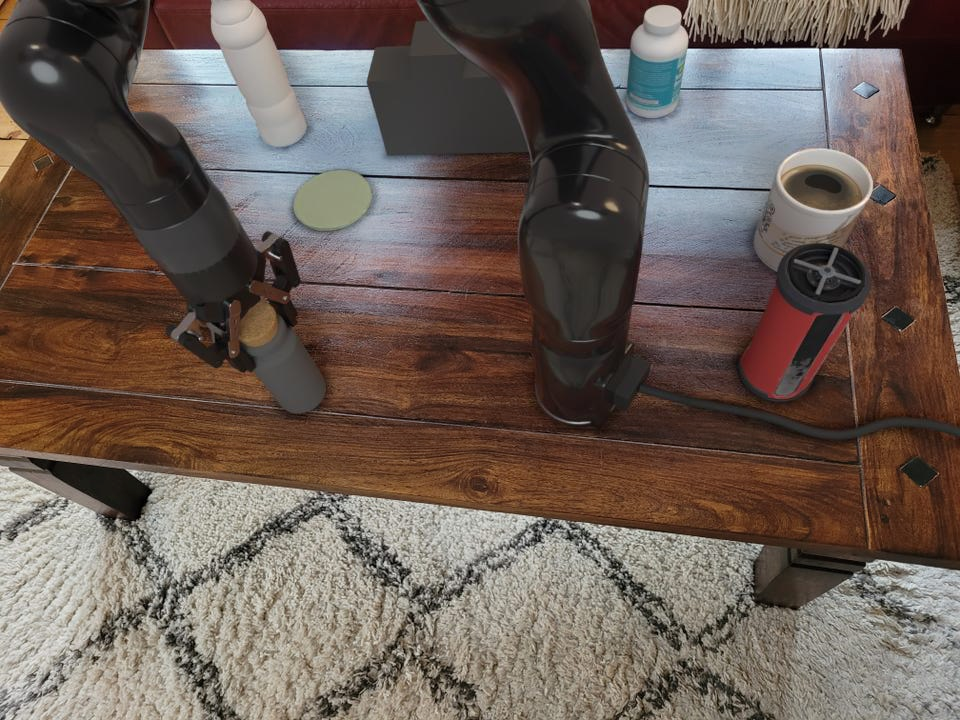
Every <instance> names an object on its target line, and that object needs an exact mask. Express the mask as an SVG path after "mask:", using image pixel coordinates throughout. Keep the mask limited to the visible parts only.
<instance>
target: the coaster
mask: <svg viewBox="0 0 960 720" xmlns="http://www.w3.org/2000/svg"><path fill="white" fill-rule="evenodd" d="M372 200H373V191H372V188H371V185H370V184H369V182H368V180H367V179H366V178H365V177H364V176H363V175H362V174H359V173H357V172H354V171H351V170H348V169H347V170H346V169H334V170H329V171H325V172H322V173H319V174H317V175H315V176H313V177H311V178H310V179H309V180H307V181H305V183H304V184H302V186H301V187H299V189H298V190H297V192H296V194H295V196H294V198H293V205H292V207H293V212H294V214H295V217H296V218H297V220H298V221H299V223H301V224H302V225H303V226H304V227H306V228H308V229H311V230H314V231H319V232H332V231H337V230H341V229H344V228H347V227H349V226H351V225H353V224H354V223H356V222H357V221H358V220H360V219H361V218H362V217H363V216H364V215H365V214H366V212H367V211H368V210H369V208H370V206H371V203H372Z"/></svg>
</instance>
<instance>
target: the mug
mask: <svg viewBox="0 0 960 720" xmlns="http://www.w3.org/2000/svg"><path fill="white" fill-rule="evenodd" d="M873 191H874V181H873V177H872V175H871V172H870V171H869V169H868V168H867V167H866V165H864V164H863V163H862V162H861V161H860V160H859V159H857V158H855V157H854V156H852V155H850V154H849V153H845V152H843V151H841V150H836V149H833V148H832V149H831V148H826V147H824V148H823V147H802V148H801V149H800V150H798V151H795V152H793V153H791V154H790V155H788V156H787V157H786V158H784V160H783V161H781V163H780V164H779V166H778V168H777V170H776V173H775V175H774V179H773V182H772V184H771V187H770V190H769V193H768V194H767V198H766V201H765V203H764V207H763V210H762V212H761V214H760V218H759V221H758V223H757V226H756V228H755V232H754V235H753V239H752V240H753V248H754V251H755V254H756V256H757V258H759V260H760V261H761V263H763V264H764V265H765V266H767V267H768V268H769V269H771V270H772V271H774V272H776V273H777V270H778V266H779V263H780V261H781V259H782V258H783V257H784V255H785V254H786V253H787V252H789V251H790V250H792V249H793V248H795V247H798V246H800V245H804V244H810V243H825V244H832V245H836V246H839V247H842V248H844V247H845V245H846V243H847V241H848V240H849V238H850V236H851V234H852V232H853V230H854V228H855V226H856V225H857V223H858V221H859V219H860V217H861V215H862V213H863V211H864V209H865V208H866V206H867V204H868V202H869V201H870V199H871V197H872V194H873Z"/></svg>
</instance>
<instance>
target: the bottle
mask: <svg viewBox="0 0 960 720" xmlns="http://www.w3.org/2000/svg"><path fill="white" fill-rule="evenodd" d="M240 322H241V333H242V335H241V336H239V347H240V349H242V350H243V351H244V352H245V354H246V355H247V356H248V358H249V359H250V360H251V361H252V363H253V364H254V365H255V367H256V368H255V369H254V370H253V371H252V372H253V374H255V375H256V377H257V378H258V379H259V381H260V382H261V383H262V384H263V386H264V387H265V388H266V390H267V391H268V393H270V395H271V396H272V397H273V399H274V400H275V401H276V402H277V403H278V405H279V406H280V408H282V409H283V410H285V411H286V412H288V413H291V414H295V415H296V414H305V413H308V412H311V411H313V410H314V409H315V408H317V407H318V406H320V404H321V403H322V401H323V400H324V399H325V396H326V393H327V382H326V380H325V378H324V376H323V373H322V372H321V371H320V369H319V367H318V366H317V364H316V363H315V361H314V359H313V358H312V356H311V355H310V353H309V351H308V350H307V348H306V346H305V345H304V343H303V342H302V340H301V338H300V337H299V335H298V334H297V332H296V331H295V330H294V327H291V326H289V325H288V324H286V323H285V322H284V320H283V318H282V317H281V316H280V315H279V314H278V313H276V312H275V310H274V308H273V307H272V306H271V305H270V303H269V302H266V301H263V300H260V301H259V302H258V303H257V304H256V305H254V306H253V307H252V308H250V309H249V310H248V312H247V313H246V315H245V316H244V317H243V318H242V319H241V320H240Z"/></svg>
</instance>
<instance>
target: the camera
mask: <svg viewBox="0 0 960 720" xmlns="http://www.w3.org/2000/svg"><path fill="white" fill-rule="evenodd" d="M371 58H372V59H371V62H370V66H369V70H368V74H367V77H366V81H365V82H366V85H367V89H368V92H369V93H368V94H369V96H370V99H371V103H372V107H373V111H374V113H375V118H376V121H377V124H378V128H379V131H380V135H381V139H382V142H383V146H384V149H385V152H386V156H388V157H389V156H421V155H424V156H425V155H462V154H496V153H498V154H499V153H501V154H502V153H503V154H505V153H506V154H507V153H529V151H528V147H527V144H526V141H525V138H524V135H523V132H522V129H521V127H520V124H519V122H518V119H517V117H516V114H515V112H514V110H513V108H512V105H511V104H510V102H509V100H508V98H507V96H506V94H505V93H504V91H503V90H502V88H501V87H500V86H499V85H498V83H497V82H496V81H495V80H494V79H493V78H491V77H490V76H489V75H488V74H486V73H485V72H484V71H482V70H481V69H479V68H478V67H477V66H475V65H474V64H472V63H471V62H470V61H468V60H467V59H466V58H464V57H463V56H462V55H460V54H459V53H458V52H457V51H455V50H454V49H453V48H452V47H451V46H450V45H449V44H448V43H447V42H446V41H445V40H444V39H443V38H442V37H441V36H440V35H439V34H438V33H437V32H436V31H435V30H434V28H433V27H432V26H431V24H430V23H429V21H428V20H419V21H415V24H414V29H413V33H412V38H411V43H410V45H395V46H375V47H374V49H373V54H372V57H371Z"/></svg>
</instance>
